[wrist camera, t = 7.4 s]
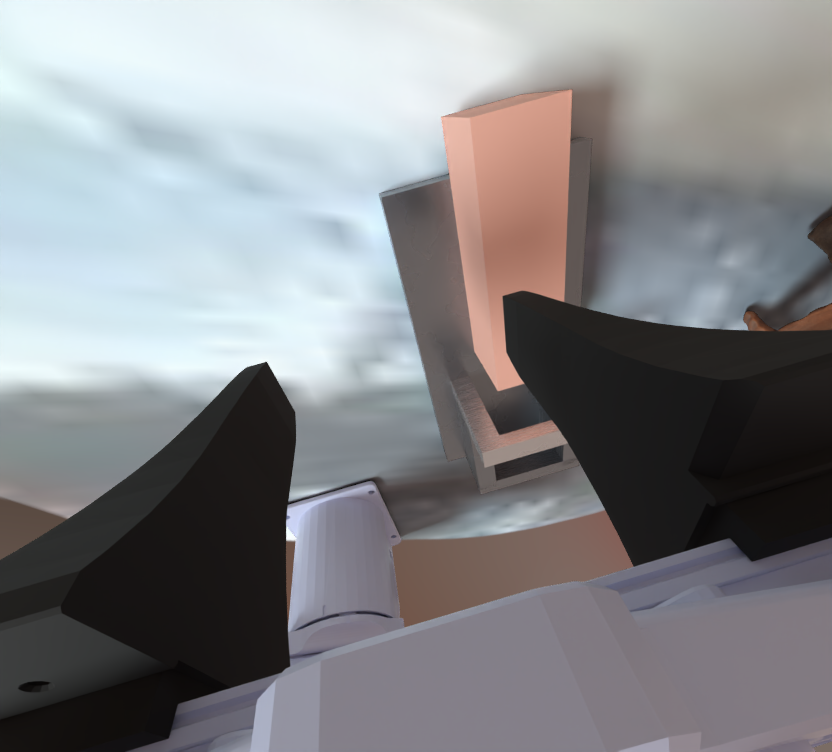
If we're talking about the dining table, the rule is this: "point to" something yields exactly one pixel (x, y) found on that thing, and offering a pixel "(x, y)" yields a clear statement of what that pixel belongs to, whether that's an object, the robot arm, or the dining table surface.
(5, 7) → the dining table surface
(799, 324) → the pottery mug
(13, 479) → the dining table surface
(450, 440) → the dispenser
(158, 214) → the dining table surface
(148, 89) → the dining table surface
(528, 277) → the copper rectangular block
